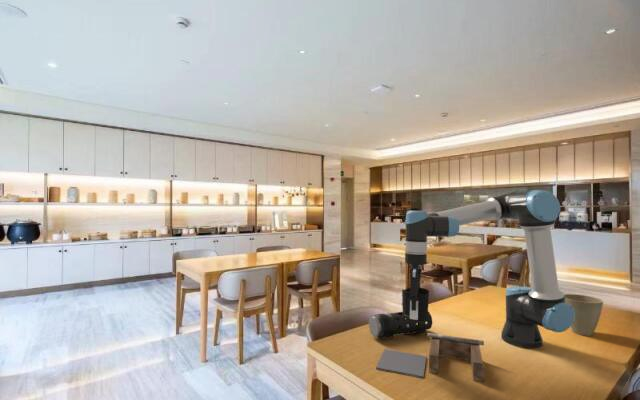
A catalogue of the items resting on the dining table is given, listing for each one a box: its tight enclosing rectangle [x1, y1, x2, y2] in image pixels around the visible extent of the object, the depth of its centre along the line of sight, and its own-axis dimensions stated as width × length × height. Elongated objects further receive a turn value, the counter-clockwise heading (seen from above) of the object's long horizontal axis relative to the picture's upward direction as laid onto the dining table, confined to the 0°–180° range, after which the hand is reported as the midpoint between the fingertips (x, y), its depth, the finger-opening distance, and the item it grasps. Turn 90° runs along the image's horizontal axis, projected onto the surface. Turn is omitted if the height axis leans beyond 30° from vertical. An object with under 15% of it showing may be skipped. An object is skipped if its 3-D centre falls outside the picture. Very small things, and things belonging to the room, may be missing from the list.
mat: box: [375, 348, 427, 379], centre depth 121 cm, size 16×16×1 cm
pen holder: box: [401, 286, 430, 321], centre depth 120 cm, size 9×9×10 cm
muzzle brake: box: [368, 310, 433, 339], centre depth 147 cm, size 10×28×10 cm, turn 111°
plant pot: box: [564, 293, 604, 337], centre depth 152 cm, size 15×15×16 cm
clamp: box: [426, 332, 485, 383], centre depth 120 cm, size 20×17×8 cm
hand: (414, 314), depth 120 cm, fingers closed on pen holder, 9 cm apart
